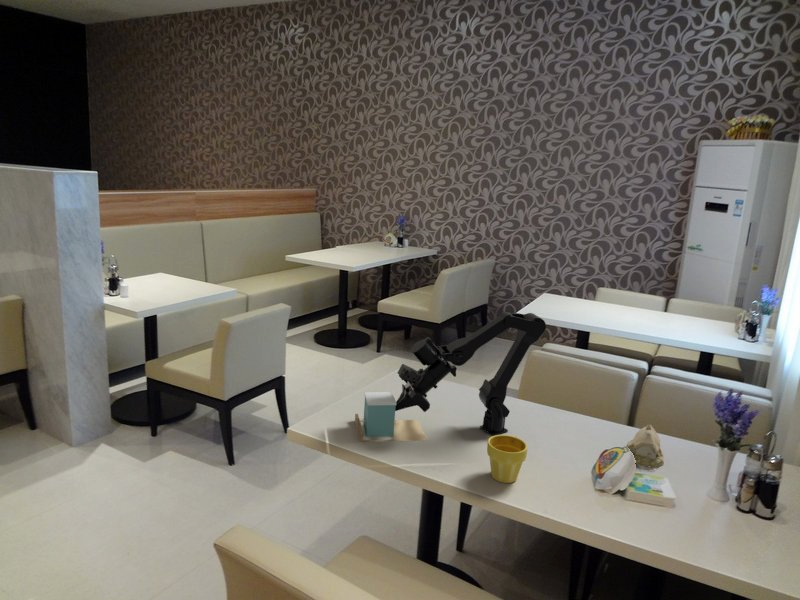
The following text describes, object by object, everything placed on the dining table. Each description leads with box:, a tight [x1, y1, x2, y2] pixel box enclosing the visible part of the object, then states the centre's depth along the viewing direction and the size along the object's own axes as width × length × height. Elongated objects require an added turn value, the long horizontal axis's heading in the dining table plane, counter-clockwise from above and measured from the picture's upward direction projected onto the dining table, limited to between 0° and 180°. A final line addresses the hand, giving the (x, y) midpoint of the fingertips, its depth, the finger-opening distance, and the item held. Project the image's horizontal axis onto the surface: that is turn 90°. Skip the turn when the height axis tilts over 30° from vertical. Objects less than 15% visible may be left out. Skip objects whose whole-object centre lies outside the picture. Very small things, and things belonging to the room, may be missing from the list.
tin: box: [363, 391, 397, 437], centre depth 172 cm, size 8×8×11 cm
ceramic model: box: [626, 424, 665, 468], centre depth 169 cm, size 14×11×10 cm
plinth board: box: [354, 413, 428, 443], centre depth 174 cm, size 20×14×3 cm
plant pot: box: [486, 434, 528, 484], centre depth 152 cm, size 10×10×10 cm
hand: (393, 409), depth 173 cm, fingers closed
